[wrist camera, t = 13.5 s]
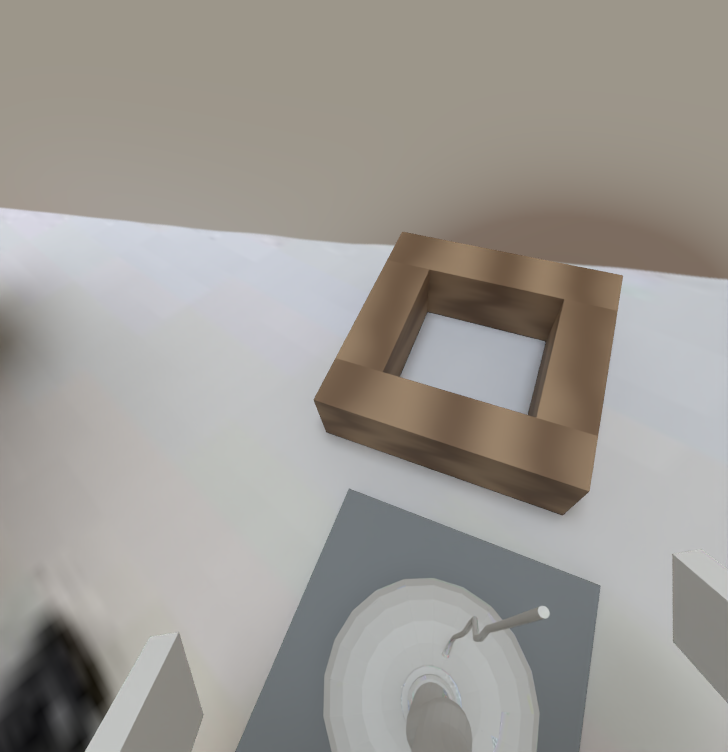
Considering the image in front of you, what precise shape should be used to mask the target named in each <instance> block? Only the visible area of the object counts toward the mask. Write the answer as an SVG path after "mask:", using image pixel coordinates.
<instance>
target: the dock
mask: <svg viewBox="0 0 728 752" xmlns="http://www.w3.org/2000/svg"><path fill="white" fill-rule="evenodd" d="M622 279H623V275H618V274H613V273H608V272H603V271H598V270H593V269H587V268H582V267H577V266H572V265H567V264H562V263H557V262H552V261H547V260H542V259H537V258H532V257H527V256H522V255H517V254H512V253H507V252H502V251H497V250H492V249H487V248H482V247H477V246H472V245H467V244H462V243H457V242H452V241H446V240H442V239H436V238H432V237H426V236H421V235H416V234H411V233H406V232H402V233H401V235H400V237H399V239H398V241H397V243H396V245H395V246H394V248H393V250H392V252H391V254H390V256H389V258H388V260H387V262H386V264H385V265H384V267H383V269H382V271H381V273H380V275H379V277H378V279H377V281H376V282H375V284H374V286H373V288H372V290H371V292H370V294H369V296H368V298H367V300H366V301H365V303H364V305H363V307H362V309H361V311H360V313H359V315H358V317H357V318H356V320H355V322H354V324H353V326H352V328H351V330H350V332H349V334H348V336H347V337H346V339H345V341H344V343H343V345H342V347H341V349H340V351H339V353H338V354H337V356H336V358H335V360H334V362H333V364H332V366H331V368H330V370H329V372H328V373H327V375H326V377H325V379H324V381H323V383H322V385H321V387H320V389H319V391H318V392H317V394H316V396H315V398H314V402H315V405H316V407H317V410H318V412H319V415H320V417H321V420H322V422H323V425H324V428H325V430H326V432H328V433H331V434H333V435H336V436H339V437H342V438H345V439H348V440H350V441H353V442H356V443H359V444H362V445H365V446H367V447H370V448H373V449H376V450H379V451H382V452H385V453H387V454H390V455H393V456H396V457H399V458H402V459H404V460H407V461H410V462H413V463H416V464H419V465H421V466H424V467H427V468H430V469H433V470H436V471H439V472H441V473H444V474H447V475H450V476H453V477H456V478H458V479H461V480H464V481H467V482H470V483H473V484H475V485H478V486H481V487H484V488H487V489H490V490H493V491H495V492H498V493H501V494H504V495H507V496H510V497H512V498H515V499H518V500H521V501H524V502H527V503H529V504H532V505H535V506H538V507H541V508H544V509H547V510H549V511H552V512H555V513H558V514H561V515H563V514H565V513H566V512H567V511H568V510H569V509H570V508H571V507H572V506H574V505H575V504H576V503H577V502H578V501H579V500H580V499H581V498H583V497H584V496H585V495H586V494H587V493H588V492H589V491H590V484H591V478H592V471H593V465H594V458H595V452H596V446H597V439H598V433H599V426H600V420H601V413H602V407H603V401H604V394H605V388H606V381H607V375H608V369H609V362H610V356H611V349H612V343H613V336H614V330H615V324H616V317H617V311H618V304H619V298H620V291H621V285H622ZM427 312H431V313H435V314H439V315H443V316H447V317H451V318H455V319H459V320H463V321H467V322H472V323H476V324H480V325H484V326H488V327H492V328H496V329H500V330H504V331H508V332H512V333H516V334H520V335H524V336H528V337H532V338H536V339H540V340H544V341H546V344H545V348H544V352H543V356H542V360H541V364H540V368H539V372H538V376H537V380H536V384H535V388H534V392H533V396H532V400H531V404H530V408H529V412H528V415H525V414H522V413H519V412H515V411H512V410H509V409H505V408H502V407H499V406H495V405H492V404H488V403H485V402H482V401H478V400H475V399H472V398H468V397H465V396H462V395H458V394H455V393H451V392H448V391H445V390H441V389H438V388H435V387H431V386H428V385H425V384H421V383H418V382H414V381H411V380H408V379H404V378H401V377H400V374H401V372H402V370H403V367H404V365H405V363H406V360H407V358H408V356H409V353H410V351H411V349H412V346H413V344H414V342H415V340H416V337H417V335H418V333H419V330H420V328H421V326H422V323H423V321H424V319H425V316H426V314H427Z"/></svg>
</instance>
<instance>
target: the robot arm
mask: <svg viewBox="0 0 728 752" xmlns="http://www.w3.org/2000/svg"><path fill="white" fill-rule="evenodd" d="M672 556H673V642H674V643H675V644H676V646H677V647H678V648H679V649H680V650H681V651H682V652H683V653H684V655H685V656H686V657H687V658H688V659H689V660H690V661H691V662H692V664H693V665H694V666H695V667H696V668H697V669H698V670H699V671H700V673H701V674H702V675H703V676H704V677H705V678H706V679H707V680H708V682H709V683H710V684H711V685H712V686H713V687H714V688H715V689H716V691H717V692H718V693H719V694H720V695H721V696H722V697H723V698H724V700H725V701H726V702H727V703H728V569H727V568H725V567H724V566H723V565H721V564H720V563H719V562H717V561H716V560H715V559H714V558H712V557H711V556H710V555H708V554H707V553H706V552H704V551H703V550H702V549H700V550H694V551H688V552H681V553H675V554H672ZM202 718H203V711H202V708H201V705H200V701H199V698H198V694H197V691H196V688H195V684H194V681H193V678H192V674H191V671H190V668H189V664H188V661H187V658H186V654H185V651H184V648H183V644H182V641H181V638H180V634H179V632H175V633H169V634H162V635H156V636H150V638H149V640H148V641H147V643H146V645H145V647H144V648H143V650H142V652H141V654H140V655H139V657H138V659H137V661H136V662H135V664H134V666H133V668H132V670H131V671H130V673H129V675H128V677H127V678H126V680H125V682H124V684H123V685H122V687H121V689H120V691H119V693H118V694H117V696H116V698H115V700H114V701H113V703H112V705H111V707H110V708H109V710H108V712H107V714H106V716H105V717H104V719H103V721H102V723H101V724H100V726H99V728H98V730H97V731H96V733H95V735H94V737H93V738H92V740H91V742H90V744H89V746H88V747H87V749H86V751H85V752H191V751H192V748H193V745H194V742H195V739H196V736H197V733H198V730H199V727H200V724H201V721H202Z"/></svg>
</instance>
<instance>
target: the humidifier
mask: <svg viewBox="0 0 728 752" xmlns="http://www.w3.org/2000/svg"><path fill="white" fill-rule="evenodd" d="M549 615H550V612H549V609H548V608H547V607H545V606H540V607H537V608H534V609H532V610H529V611H526V612H523V613H521V614H518V615H515V616H513V617H510V618H507V619H504V620H502V619H501V617H500V616H499V615H498V614H497V613H496V611H495V610H494V609H493V608H492V607H491V606H490V605H489V604H487V603H486V602H484V601H483V600H481V599H480V598H479V597H477V596H476V595H474V594H473V593H471V592H470V591H468V590H467V589H465V588H464V587H461V586H458V585H455V584H452V583H448V582H445V581H442V580H439V579H435V578H419V579H403V580H400V581H398V582H395V583H393V584H390V585H388V586H385V587H383V588H380V589H378V590H376V591H375V592H374V593H372V594H371V595H370V596H369V597H368V598H367V599H365V600H364V601H363V602H362V603H361V604H360V605H358V606H357V607H356V608H355V609H354V610H353V611H352V612H351V614H350V616H349V617H348V619H347V620H346V622H345V624H344V625H343V627H342V628H341V630H340V632H339V633H338V635H337V637H336V638H335V640H334V643H333V647H332V650H331V654H330V657H329V661H328V664H327V668H326V671H325V675H324V709H323V717H324V721H325V726H326V730H327V734H328V739H329V743H330V747H331V751H332V752H537V742H538V729H539V716H540V712H539V707H538V701H537V696H536V691H535V685H534V680H533V675H532V671H531V668H530V666H529V664H528V662H527V660H526V658H525V655H524V653H523V651H522V649H521V647H520V645H519V643H518V640H517V638H516V636H515V634H514V633H513V632H512V631H511V630H510V628H512V627H516V626H520V625H523V624H527V623H531V622H535V621H538V620H542V619H546V618H548V617H549Z"/></svg>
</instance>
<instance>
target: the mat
mask: <svg viewBox="0 0 728 752" xmlns="http://www.w3.org/2000/svg"><path fill="white" fill-rule="evenodd" d="M419 578H435V579H439V580H442V581H445V582H448V583H452V584H455V585H458V586H461V587H464V588H465V589H467V590H468V591H470V592H471V593H473V594H474V595H476V596H477V597H479V598H480V599H481V600H483V601H484V602H486V603H487V604H489V605H490V606H491V607H492V608H493V609H494V610H495V611H496V613H497V614H498V615H499V616H500V617H501V619H502V620H504V619H507V618H510V617H513V616H515V615H518V614H521V613H523V612H526V611H529V610H532V609H534V608H537V607H540V606H545V607H547V608H548V609H549V612H550V615H549V617H548V618H546V619H542V620H538V621H535V622H531V623H527V624H523V625H520V626H516V627H512V628H510V630H511V631H512V632H513V633H514V634H515V636H516V638H517V640H518V643H519V645H520V647H521V649H522V651H523V653H524V655H525V658H526V660H527V662H528V664H529V666H530V668H531V671H532V675H533V680H534V685H535V691H536V696H537V701H538V707H539V712H540V716H539V729H538V742H537V752H579V748H580V741H581V733H582V725H583V717H584V710H585V702H586V694H587V686H588V679H589V671H590V663H591V655H592V648H593V640H594V632H595V624H596V617H597V609H598V601H599V593H600V585H597V584H595V583H592V582H590V581H587V580H584V579H582V578H579V577H577V576H574V575H572V574H569V573H566V572H564V571H561V570H559V569H556V568H553V567H551V566H548V565H546V564H543V563H540V562H538V561H535V560H533V559H530V558H527V557H525V556H522V555H520V554H517V553H515V552H512V551H509V550H507V549H504V548H502V547H499V546H496V545H494V544H491V543H489V542H486V541H483V540H481V539H478V538H476V537H473V536H470V535H468V534H465V533H463V532H460V531H458V530H455V529H452V528H450V527H447V526H445V525H442V524H439V523H437V522H434V521H432V520H429V519H426V518H424V517H421V516H419V515H416V514H413V513H411V512H408V511H406V510H403V509H400V508H398V507H395V506H393V505H390V504H388V503H385V502H382V501H380V500H377V499H375V498H372V497H369V496H367V495H364V494H362V493H359V492H356V491H354V490H351V489H349V490H348V492H347V495H346V497H345V499H344V502H343V504H342V506H341V509H340V511H339V513H338V516H337V518H336V520H335V522H334V525H333V527H332V529H331V532H330V534H329V536H328V539H327V541H326V543H325V546H324V548H323V550H322V552H321V555H320V557H319V559H318V562H317V564H316V566H315V569H314V571H313V573H312V576H311V578H310V580H309V583H308V585H307V587H306V589H305V592H304V594H303V596H302V599H301V601H300V603H299V606H298V608H297V610H296V613H295V615H294V617H293V620H292V622H291V624H290V626H289V629H288V631H287V633H286V636H285V638H284V640H283V643H282V645H281V647H280V650H279V652H278V654H277V656H276V659H275V661H274V663H273V666H272V668H271V670H270V673H269V675H268V677H267V680H266V682H265V684H264V687H263V689H262V691H261V693H260V696H259V698H258V700H257V703H256V705H255V707H254V710H253V712H252V714H251V717H250V719H249V721H248V724H247V726H246V728H245V730H244V733H243V735H242V737H241V740H240V742H239V744H238V747H237V749H236V751H235V752H332V751H331V747H330V743H329V739H328V734H327V730H326V726H325V721H324V717H323V709H324V675H325V671H326V668H327V664H328V661H329V657H330V654H331V650H332V647H333V643H334V640H335V638H336V637H337V635H338V633H339V632H340V630H341V628H342V627H343V625H344V624H345V622H346V620H347V619H348V617H349V616H350V614H351V612H352V611H353V610H354V609H355V608H356V607H357V606H358V605H360V604H361V603H362V602H363V601H364V600H365V599H367V598H368V597H369V596H370V595H371V594H372V593H374V592H375V591H376V590H378V589H380V588H383V587H385V586H388V585H390V584H393V583H395V582H398V581H400V580H403V579H419Z"/></svg>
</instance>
